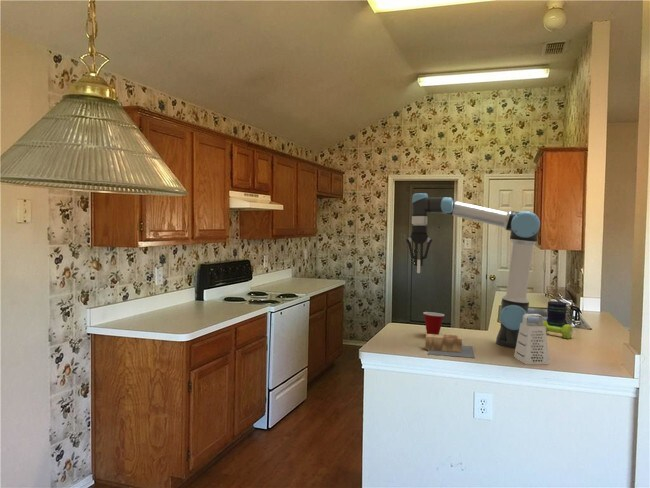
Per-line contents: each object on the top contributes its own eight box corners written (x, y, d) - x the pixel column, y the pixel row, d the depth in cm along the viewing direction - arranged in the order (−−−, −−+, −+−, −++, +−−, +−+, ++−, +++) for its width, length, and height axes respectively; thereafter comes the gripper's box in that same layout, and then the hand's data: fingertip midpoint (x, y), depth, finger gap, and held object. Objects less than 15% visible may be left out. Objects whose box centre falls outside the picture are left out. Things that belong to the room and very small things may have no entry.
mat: (472, 346, 233) (472, 346, 233) (475, 358, 213) (475, 357, 213) (429, 343, 237) (429, 343, 237) (428, 354, 218) (428, 353, 218)
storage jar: (542, 327, 279) (543, 301, 278) (554, 326, 283) (555, 300, 282) (557, 331, 270) (558, 304, 269) (569, 330, 274) (570, 303, 273)
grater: (549, 364, 207) (551, 317, 206) (525, 364, 206) (527, 317, 205) (536, 357, 217) (538, 312, 216) (513, 357, 216) (515, 312, 215)
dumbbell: (535, 334, 263) (536, 321, 262) (542, 332, 268) (542, 319, 268) (568, 340, 251) (568, 326, 250) (573, 337, 256) (574, 324, 256)
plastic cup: (448, 336, 252) (449, 313, 251) (433, 339, 246) (434, 315, 245) (432, 332, 261) (433, 310, 260) (418, 335, 255) (418, 312, 254)
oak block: (425, 346, 231) (460, 349, 227) (425, 349, 225) (461, 352, 221) (426, 333, 230) (461, 335, 227) (425, 335, 225) (461, 338, 221)
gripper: (432, 225, 243) (432, 272, 244) (406, 224, 246) (405, 271, 247) (433, 225, 236) (432, 273, 237) (405, 224, 238) (404, 273, 239)
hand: (418, 272), depth 242 cm, fingers closed
